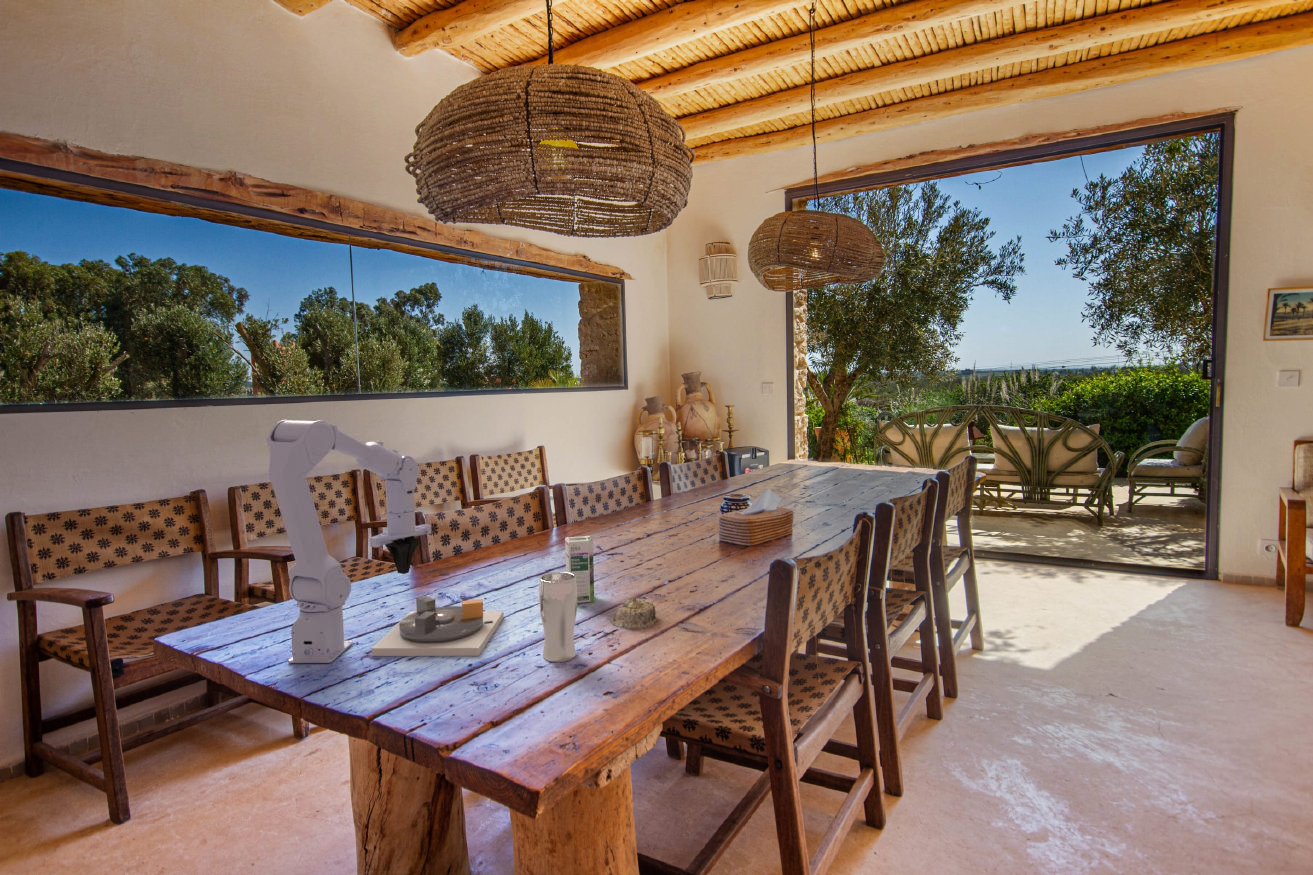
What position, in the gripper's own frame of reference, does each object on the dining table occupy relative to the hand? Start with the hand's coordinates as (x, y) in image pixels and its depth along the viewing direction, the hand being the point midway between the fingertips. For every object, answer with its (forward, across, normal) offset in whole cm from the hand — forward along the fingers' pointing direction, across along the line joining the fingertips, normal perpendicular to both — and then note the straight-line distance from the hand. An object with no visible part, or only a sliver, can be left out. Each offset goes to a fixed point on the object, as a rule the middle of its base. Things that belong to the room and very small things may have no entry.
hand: (403, 572), depth 150 cm
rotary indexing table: (+8, +4, +16) cm, 19 cm away
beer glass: (+10, +1, +43) cm, 44 cm away
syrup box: (+10, -27, +27) cm, 40 cm away
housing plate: (+9, +4, +16) cm, 19 cm away
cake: (+10, -22, +45) cm, 51 cm away
